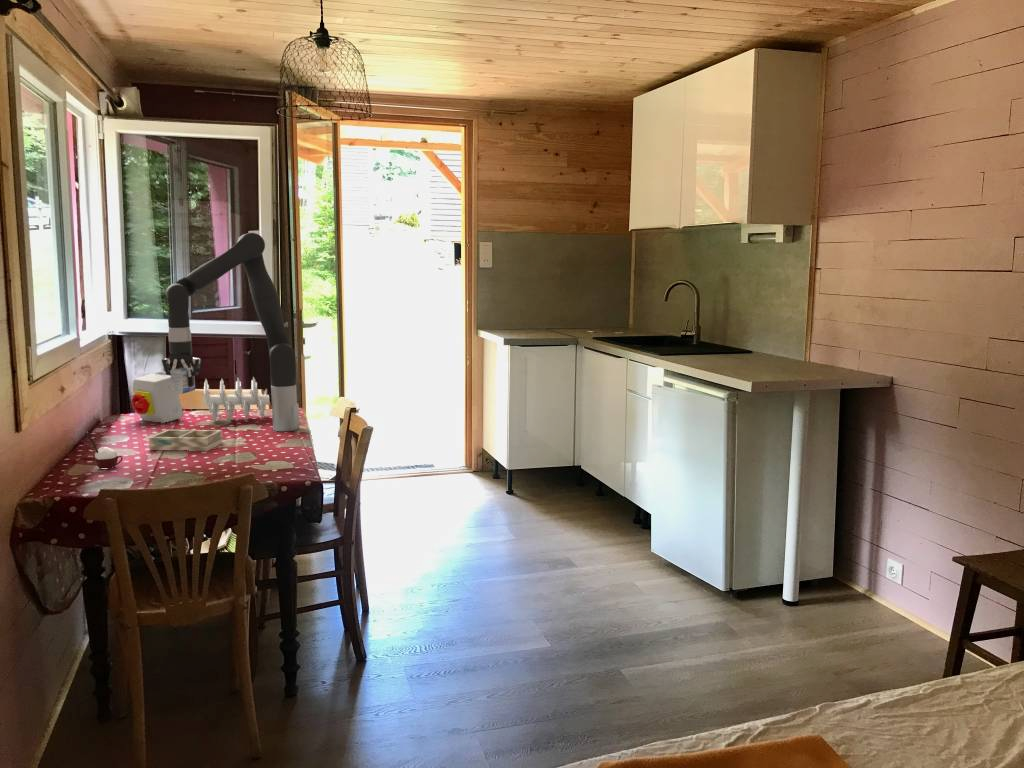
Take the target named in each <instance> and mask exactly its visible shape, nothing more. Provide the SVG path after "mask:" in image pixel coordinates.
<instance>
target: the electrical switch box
mask: <svg viewBox="0 0 1024 768" xmlns="http://www.w3.org/2000/svg"><path fill="white" fill-rule="evenodd" d="M132 391H133V395H132V398H131V404H132V407H133V410H134V411H135V412H136V413H137V414H138V415H139V417H140V418H141V420H142V421H145V422H151V421H152V423H157V422H161V423H160V424H163V423H164V424H166V423H165V422H167V423H170V422H172V421H176V420H178V419H180V418H183V417H184V410H183V407H182V402H181V398H180V397H181V396H180V394H178V393H172V384H171V376H170V375H166V372H165V370H164V371H158V372H153V373H150V374H146V375H143V376H139V377H137V378H134V379H133V381H132ZM169 421H170V422H169Z"/></svg>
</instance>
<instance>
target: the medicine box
mask: <svg viewBox="0 0 1024 768" xmlns="http://www.w3.org/2000/svg"><path fill="white" fill-rule="evenodd" d="M192 368H193V369H194V366H192ZM193 369H192V370H193ZM170 372H171V384H172V393H178V394H179V395H180V394H182V395H183V394H187V393H190V392H193V391H195V390H196V381H195V377H194V385H193V387H189V386H188V377H189V376H188V374H187V372H186V371H185V369H184V368H178V369H173V370H172V369H171V370H170Z"/></svg>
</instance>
